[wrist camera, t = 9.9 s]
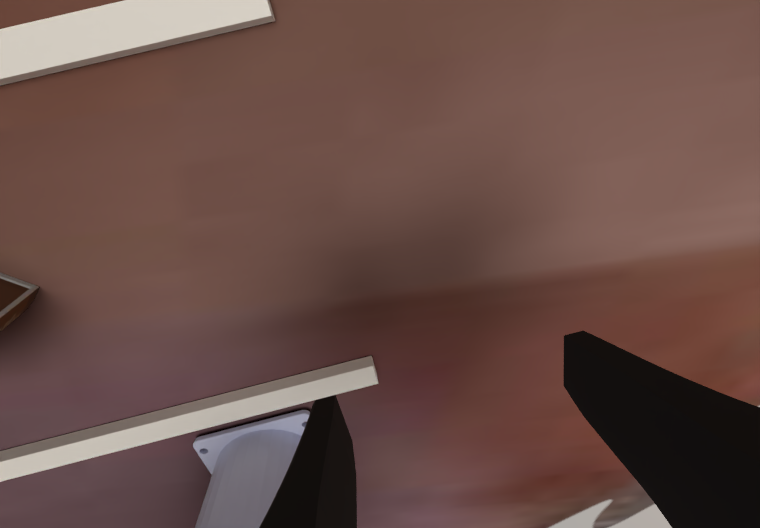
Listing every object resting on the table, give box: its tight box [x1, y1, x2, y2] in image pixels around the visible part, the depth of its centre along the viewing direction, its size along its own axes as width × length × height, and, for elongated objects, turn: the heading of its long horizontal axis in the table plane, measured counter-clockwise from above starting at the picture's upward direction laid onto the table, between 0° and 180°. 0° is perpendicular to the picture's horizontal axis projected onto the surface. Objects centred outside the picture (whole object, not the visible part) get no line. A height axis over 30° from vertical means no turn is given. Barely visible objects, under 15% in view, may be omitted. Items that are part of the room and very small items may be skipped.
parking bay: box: [0, 0, 378, 482], centre depth 18 cm, size 22×32×1 cm
